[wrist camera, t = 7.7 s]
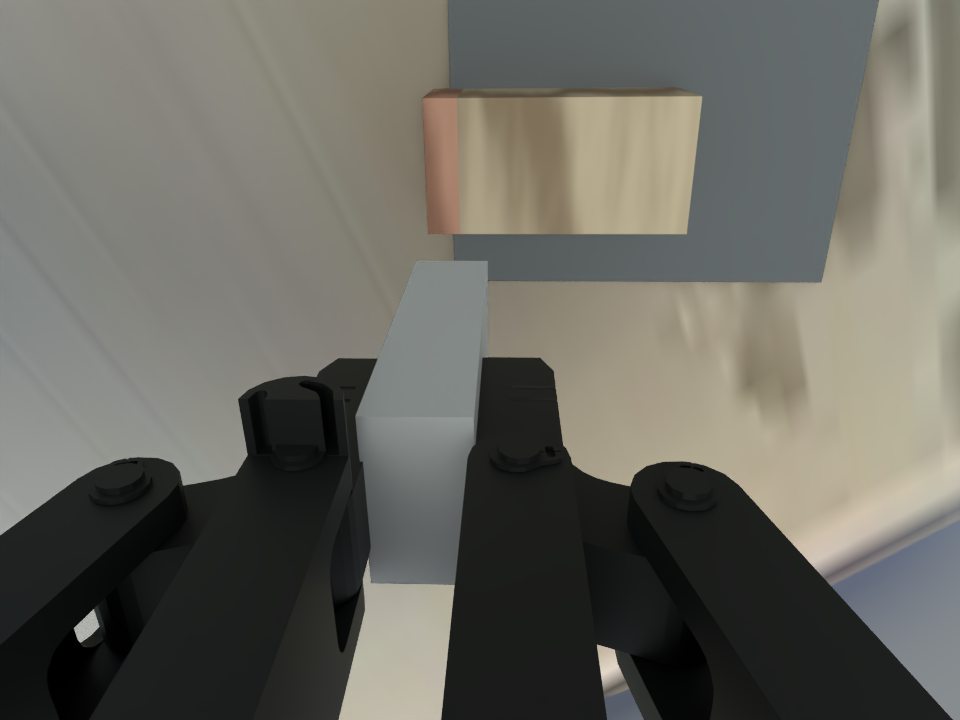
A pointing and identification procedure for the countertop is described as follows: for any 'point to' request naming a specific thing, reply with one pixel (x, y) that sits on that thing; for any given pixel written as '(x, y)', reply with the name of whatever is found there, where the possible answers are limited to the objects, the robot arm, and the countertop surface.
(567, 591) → the robot arm
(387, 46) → the countertop surface
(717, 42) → the mat
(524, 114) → the oak block
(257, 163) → the countertop surface
